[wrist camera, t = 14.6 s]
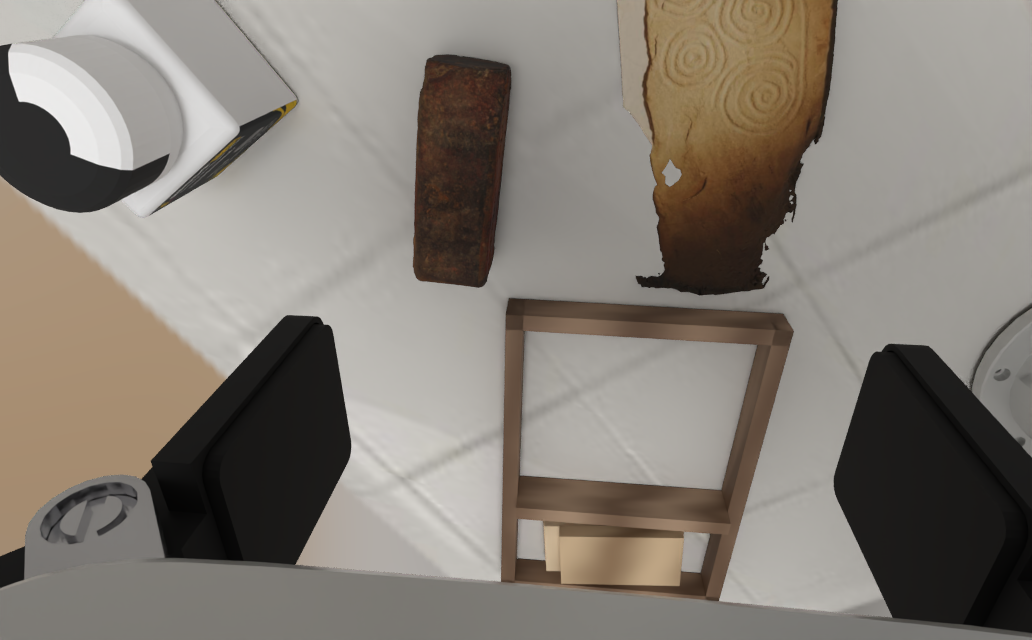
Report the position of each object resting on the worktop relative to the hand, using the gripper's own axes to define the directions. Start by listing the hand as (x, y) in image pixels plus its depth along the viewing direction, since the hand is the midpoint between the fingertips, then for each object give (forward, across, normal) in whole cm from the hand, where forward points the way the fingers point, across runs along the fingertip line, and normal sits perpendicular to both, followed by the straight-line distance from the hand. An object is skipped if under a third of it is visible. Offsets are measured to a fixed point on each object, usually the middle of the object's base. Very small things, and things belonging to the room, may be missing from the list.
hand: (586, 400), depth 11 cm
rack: (+24, -3, +22) cm, 33 cm away
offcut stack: (+25, -3, +29) cm, 39 cm away
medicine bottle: (+24, +20, -2) cm, 31 cm away
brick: (+24, +6, +2) cm, 25 cm away
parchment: (+25, -6, -3) cm, 26 cm away
